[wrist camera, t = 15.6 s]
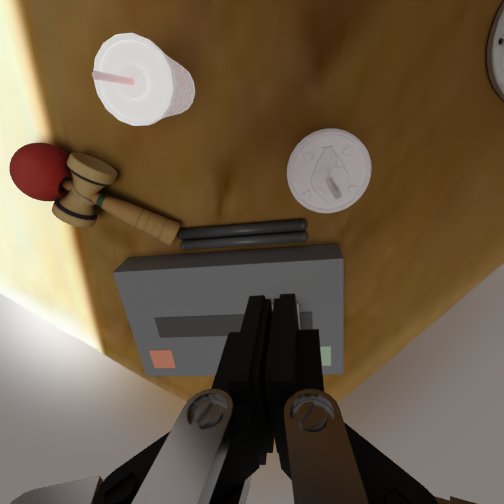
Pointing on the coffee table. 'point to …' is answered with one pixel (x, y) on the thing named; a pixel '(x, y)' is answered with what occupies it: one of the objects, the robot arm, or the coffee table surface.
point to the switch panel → (228, 294)
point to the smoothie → (329, 170)
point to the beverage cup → (140, 81)
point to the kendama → (80, 189)
